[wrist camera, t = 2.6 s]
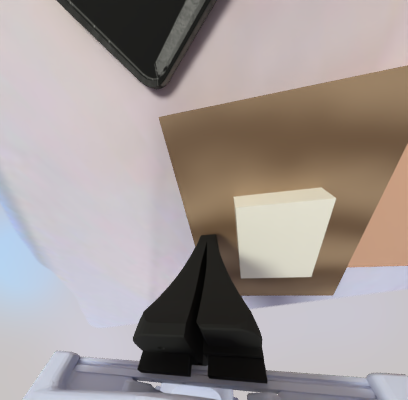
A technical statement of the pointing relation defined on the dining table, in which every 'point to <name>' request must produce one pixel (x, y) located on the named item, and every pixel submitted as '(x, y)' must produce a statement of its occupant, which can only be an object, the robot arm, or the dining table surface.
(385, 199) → the mat
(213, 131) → the butcher block
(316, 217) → the tile
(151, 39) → the phone
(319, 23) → the dining table surface
